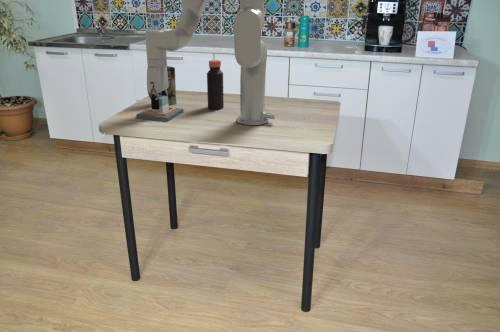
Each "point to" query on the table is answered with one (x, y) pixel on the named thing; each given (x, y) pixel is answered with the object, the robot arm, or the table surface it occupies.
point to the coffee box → (171, 86)
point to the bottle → (215, 85)
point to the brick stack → (162, 104)
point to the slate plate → (160, 114)
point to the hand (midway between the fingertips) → (160, 106)
